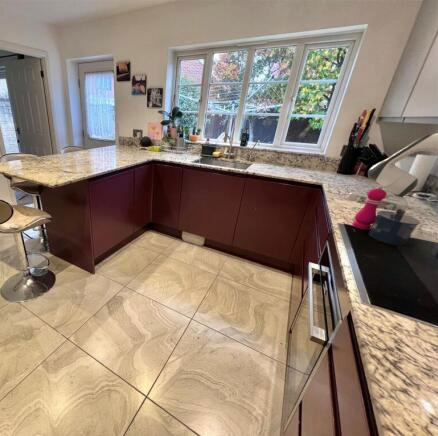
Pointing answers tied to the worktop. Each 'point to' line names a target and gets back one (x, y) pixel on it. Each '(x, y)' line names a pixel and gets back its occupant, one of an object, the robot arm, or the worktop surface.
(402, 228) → the pot
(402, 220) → the pot lid
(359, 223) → the pepper mill
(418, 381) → the worktop surface
